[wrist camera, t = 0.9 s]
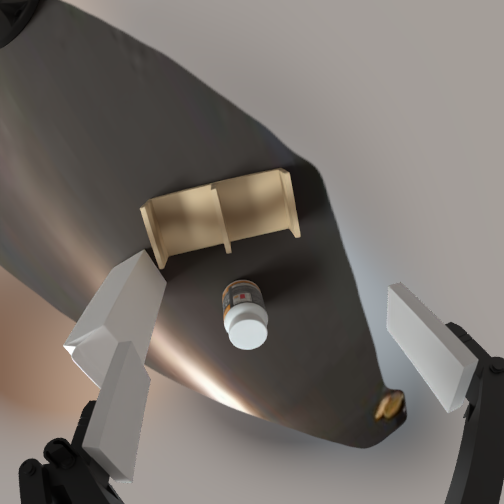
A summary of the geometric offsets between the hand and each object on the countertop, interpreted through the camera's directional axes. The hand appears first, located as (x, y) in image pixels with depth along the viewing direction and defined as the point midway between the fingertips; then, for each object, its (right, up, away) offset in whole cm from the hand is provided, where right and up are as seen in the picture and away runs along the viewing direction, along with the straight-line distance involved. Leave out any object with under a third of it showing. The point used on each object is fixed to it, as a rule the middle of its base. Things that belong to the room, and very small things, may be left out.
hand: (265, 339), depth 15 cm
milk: (-17, +1, +29) cm, 34 cm away
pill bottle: (-2, -2, +32) cm, 32 cm away
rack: (-5, +10, +27) cm, 29 cm away
